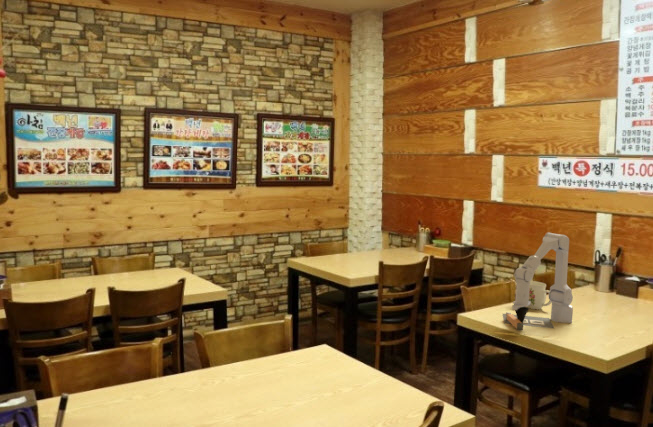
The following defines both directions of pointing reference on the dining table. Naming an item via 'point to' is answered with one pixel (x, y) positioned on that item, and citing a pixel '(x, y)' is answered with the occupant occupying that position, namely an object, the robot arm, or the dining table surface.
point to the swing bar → (515, 321)
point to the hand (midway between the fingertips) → (520, 322)
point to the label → (536, 322)
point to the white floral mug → (537, 295)
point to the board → (546, 320)
